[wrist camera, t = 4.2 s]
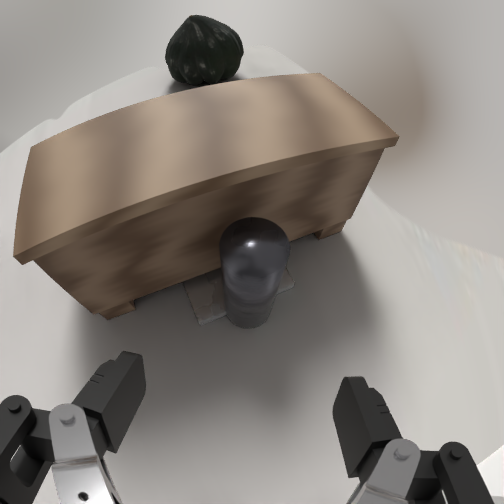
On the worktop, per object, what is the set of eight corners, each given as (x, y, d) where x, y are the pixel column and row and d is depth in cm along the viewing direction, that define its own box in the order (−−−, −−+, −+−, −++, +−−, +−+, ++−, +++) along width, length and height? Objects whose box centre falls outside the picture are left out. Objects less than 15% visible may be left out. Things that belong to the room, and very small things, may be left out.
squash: (247, 40, 48) (200, -2, 37) (266, 65, 41) (207, 10, 30) (199, 80, 55) (149, 44, 43) (206, 113, 48) (143, 70, 36)
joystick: (208, 346, 23) (191, 305, 14) (166, 235, 28) (143, 161, 20) (303, 306, 25) (338, 246, 16) (247, 208, 30) (252, 131, 22)
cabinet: (99, 328, 23) (13, 256, 11) (84, 236, 28) (31, 147, 16) (350, 231, 30) (399, 136, 18) (299, 165, 34) (320, 73, 23)
